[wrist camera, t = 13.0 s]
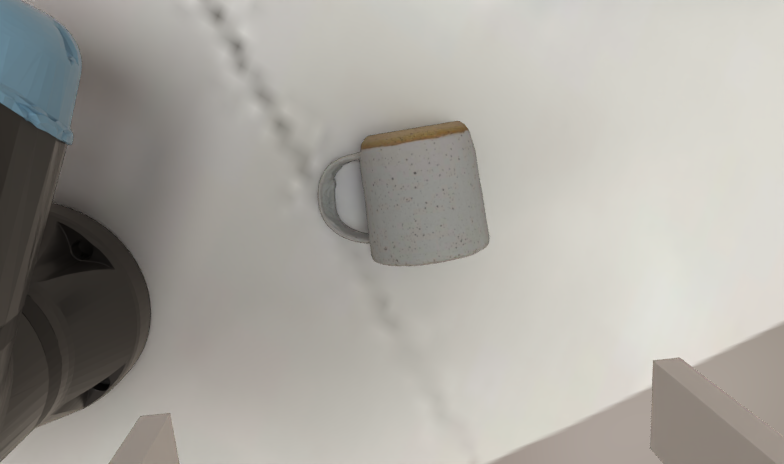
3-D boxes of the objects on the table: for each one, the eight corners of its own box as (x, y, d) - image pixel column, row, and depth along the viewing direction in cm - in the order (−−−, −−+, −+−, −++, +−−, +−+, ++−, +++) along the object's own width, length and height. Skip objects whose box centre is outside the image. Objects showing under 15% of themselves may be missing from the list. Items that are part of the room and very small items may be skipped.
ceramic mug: (460, 115, 38) (481, 116, 31) (478, 230, 40) (501, 258, 32) (308, 143, 38) (292, 152, 31) (332, 256, 40) (323, 290, 32)
